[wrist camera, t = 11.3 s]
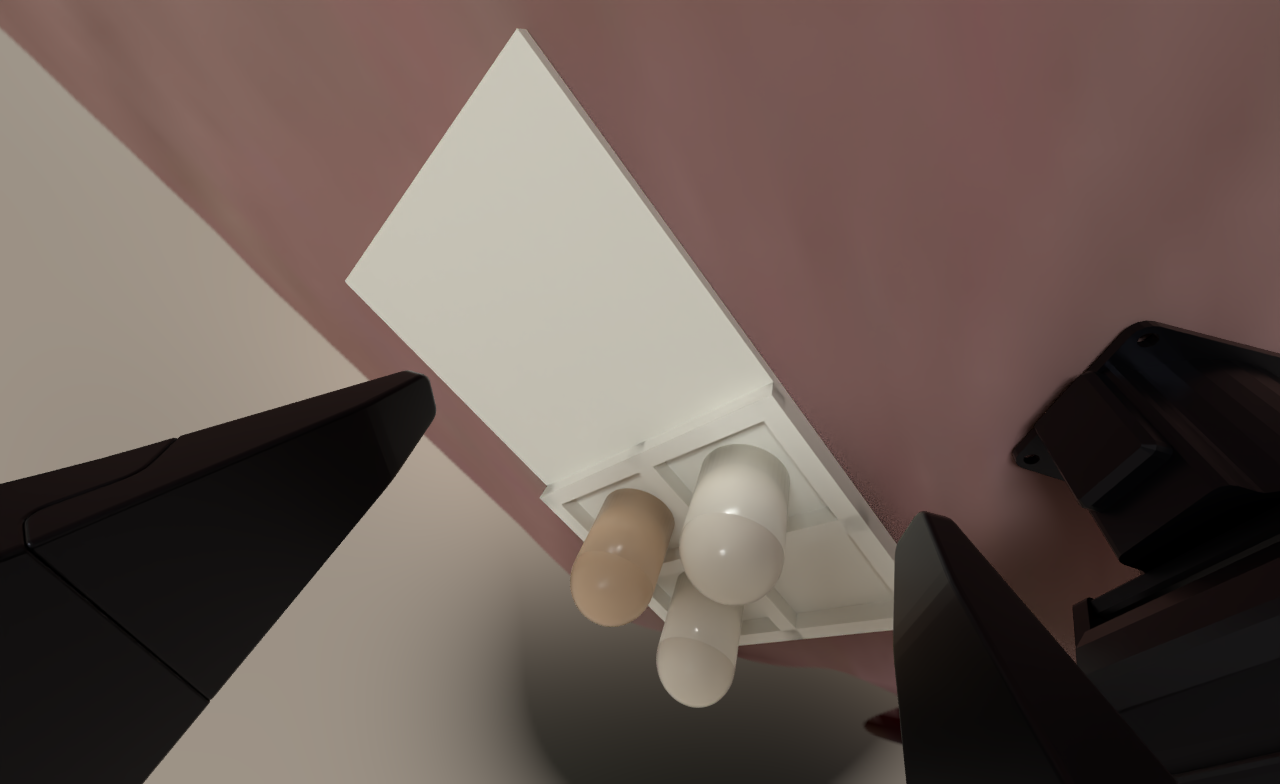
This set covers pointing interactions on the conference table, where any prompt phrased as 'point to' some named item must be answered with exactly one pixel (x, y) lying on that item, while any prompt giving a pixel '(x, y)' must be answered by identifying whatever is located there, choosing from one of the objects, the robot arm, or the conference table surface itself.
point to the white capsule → (698, 646)
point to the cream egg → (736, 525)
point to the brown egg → (622, 557)
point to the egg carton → (606, 343)
